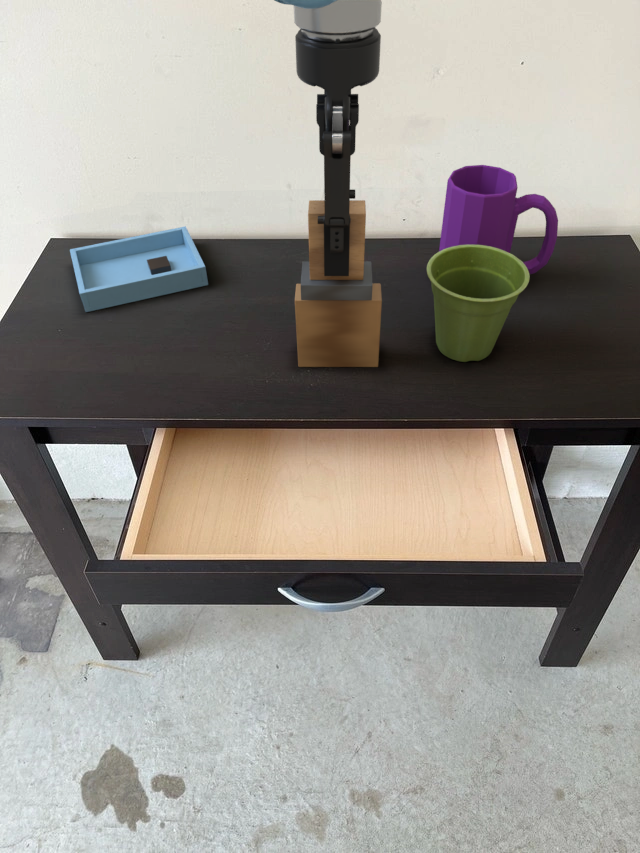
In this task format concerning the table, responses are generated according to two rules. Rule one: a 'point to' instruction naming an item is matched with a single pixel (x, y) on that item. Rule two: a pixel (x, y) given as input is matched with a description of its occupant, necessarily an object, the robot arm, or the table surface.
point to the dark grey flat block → (159, 265)
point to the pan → (136, 268)
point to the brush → (359, 271)
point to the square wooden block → (338, 331)
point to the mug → (492, 212)
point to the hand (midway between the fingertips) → (336, 264)
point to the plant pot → (473, 297)
